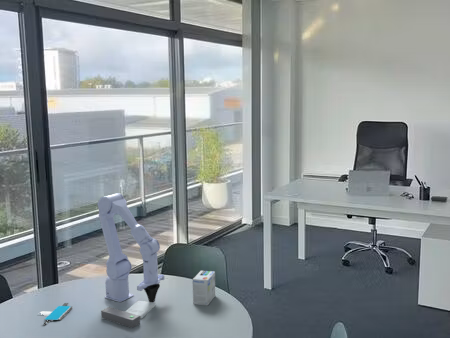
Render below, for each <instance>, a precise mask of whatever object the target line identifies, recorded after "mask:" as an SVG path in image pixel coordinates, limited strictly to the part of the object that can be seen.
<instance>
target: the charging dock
mask: <svg viewBox="0 0 450 338" xmlns="http://www.w3.org/2000/svg"><path fill="white" fill-rule="evenodd" d="M125 311H126V310H120V309H117V308H114V307H112V306H108V307H106V308H104V309H101V310H100V314H101V316H100V317H101V319H104V320H107V321H109V322H113V323H116V324H118V325H121V326H122V325H123V326H126V327H128V328H131V329H133V328H135V327H137V326H139V325H140V324H141V319H140V316H138V315H135V314H131V313H128V312H125Z"/></svg>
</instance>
